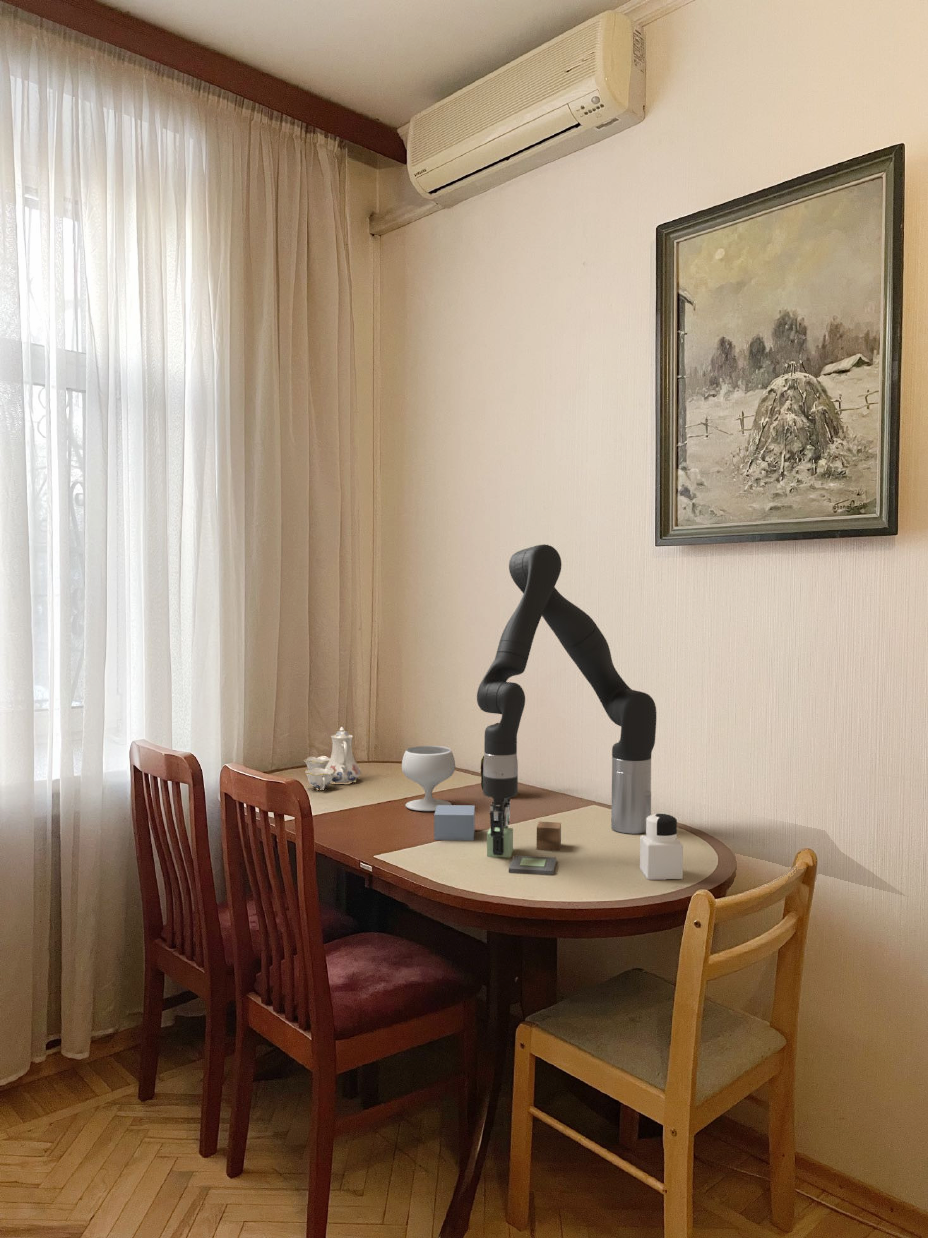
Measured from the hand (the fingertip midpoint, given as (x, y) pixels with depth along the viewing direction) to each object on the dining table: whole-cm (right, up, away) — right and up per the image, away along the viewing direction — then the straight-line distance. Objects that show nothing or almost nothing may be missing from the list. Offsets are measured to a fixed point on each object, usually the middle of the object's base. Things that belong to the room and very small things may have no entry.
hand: (500, 850), depth 203 cm
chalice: (-17, +1, +41) cm, 44 cm away
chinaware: (-46, +2, +69) cm, 84 cm away
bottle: (+1, +2, +54) cm, 54 cm away
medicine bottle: (+32, -2, -14) cm, 35 cm away
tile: (+7, -1, -9) cm, 11 cm away
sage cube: (0, -1, 0) cm, 1 cm away
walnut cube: (+11, -1, +5) cm, 12 cm away
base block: (-10, 0, +15) cm, 18 cm away
